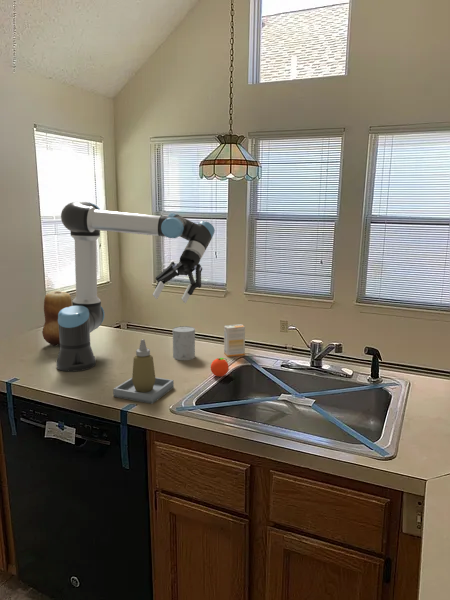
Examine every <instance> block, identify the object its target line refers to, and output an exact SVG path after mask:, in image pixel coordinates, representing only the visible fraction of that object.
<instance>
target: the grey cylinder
mask: <svg viewBox="0 0 450 600" xmlns="http://www.w3.org/2000/svg"><path fill="white" fill-rule="evenodd" d="M195 336H196V328H195V327H193V326H187V325H185V326H184V325H183V326H181V325H180V326H175V327H174V328H172V358H173V359H174V360H177V361H190V360H193V359H195V358H196V337H195Z"/></svg>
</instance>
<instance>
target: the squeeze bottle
mask: <svg viewBox="0 0 450 600" xmlns="http://www.w3.org/2000/svg"><path fill="white" fill-rule="evenodd" d="M146 344H147V343H146V341H145V339H144V338H143V339H141V340H140V344H139V348H137V349H136V350H135V351H136V352H135V354H136V355H134V357H133V361H132V363H133V364H132V375H131V378H132V382H133V384H134V387H135V389H136V391H138V392H149V391H151V390H152V389H153V386H154V383H155V380H156V378H155V377H156V373H155V365H154V356H153V355H151V349H149V348H147V345H146Z"/></svg>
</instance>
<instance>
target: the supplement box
mask: <svg viewBox="0 0 450 600" xmlns="http://www.w3.org/2000/svg"><path fill="white" fill-rule="evenodd" d="M245 342H246V326H244V325H243V324H240V323H239V324H229V325H224V326H223V343H224V344H223V354H224V356H226V357H227V358H230V357H239V356H240V357H241V356H245V354H246V345H245V344H246V343H245Z"/></svg>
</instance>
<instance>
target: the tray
mask: <svg viewBox="0 0 450 600" xmlns="http://www.w3.org/2000/svg"><path fill="white" fill-rule="evenodd" d="M155 378H156V380H155V383H154V386H153V389H152V390H151V391H149V392H138V391H136V389H135V387H134V384H133V382H132V377H131V378H128V379H127V380H126V381H123V382H122V383H120V384H119V385H116V386H115V387H114V388H113V389H112V390H113V397H114V398H118V399H125V400H130V401H134V402H135V401H136V402H141V403H144V404H145V403H147V404H151V405H153V404H154V403H155V402H157V401H158V400H160V398H162V397H163V396H165V395H166V394H167V393H168V392H170V391H171V390H172V389H174V386H175V385H174V384H175V382H174V380H173V379H170V378H163V377H157V376H155Z"/></svg>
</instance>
